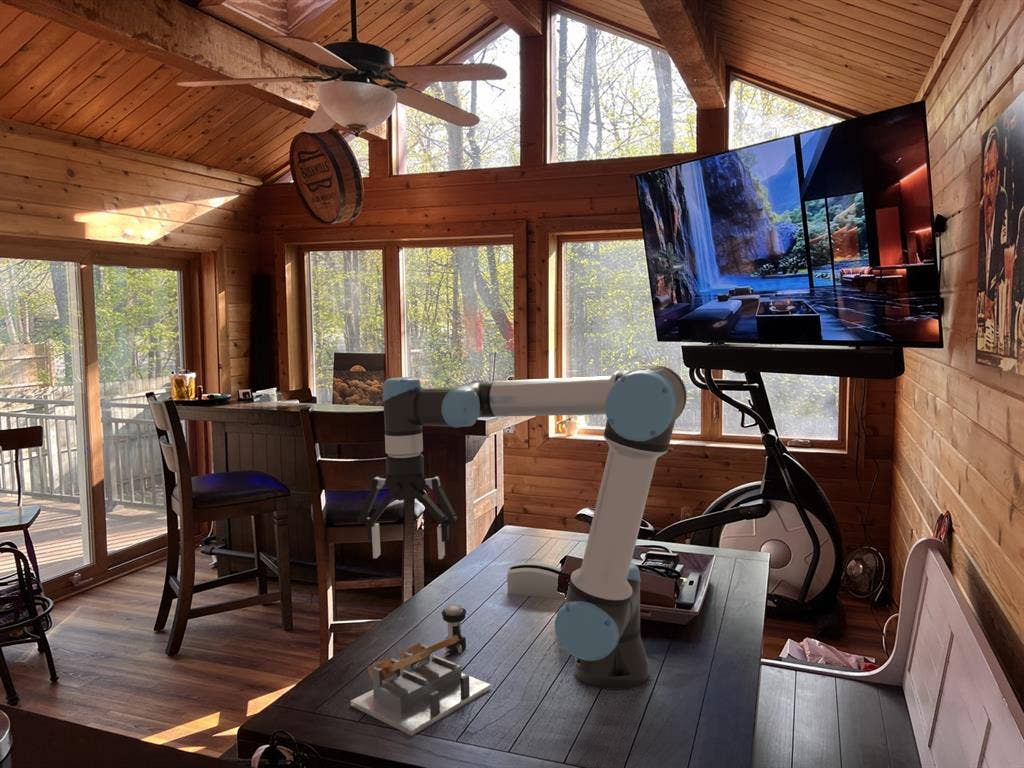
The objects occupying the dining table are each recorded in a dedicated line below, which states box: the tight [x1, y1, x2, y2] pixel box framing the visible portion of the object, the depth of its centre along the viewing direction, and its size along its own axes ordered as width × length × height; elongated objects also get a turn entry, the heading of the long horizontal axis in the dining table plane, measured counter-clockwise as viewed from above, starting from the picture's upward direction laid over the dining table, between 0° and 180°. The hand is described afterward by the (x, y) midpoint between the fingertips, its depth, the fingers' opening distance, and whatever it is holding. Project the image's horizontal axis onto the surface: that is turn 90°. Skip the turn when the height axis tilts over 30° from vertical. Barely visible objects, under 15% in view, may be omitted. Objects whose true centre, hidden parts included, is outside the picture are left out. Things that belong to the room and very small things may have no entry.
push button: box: [441, 603, 467, 657], centre depth 167 cm, size 7×5×10 cm
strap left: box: [366, 649, 429, 682], centre depth 146 cm, size 16×3×3 cm, turn 49°
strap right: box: [397, 635, 459, 665], centre depth 152 cm, size 16×3×3 cm, turn 49°
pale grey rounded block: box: [506, 561, 565, 601], centre depth 200 cm, size 17×5×10 cm, turn 70°
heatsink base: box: [350, 643, 492, 737], centre depth 148 cm, size 17×21×7 cm
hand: (409, 556), depth 156 cm, fingers open, 13 cm apart
